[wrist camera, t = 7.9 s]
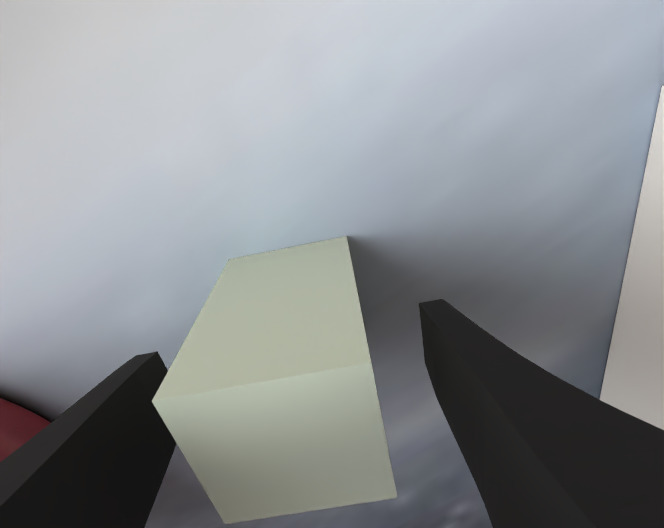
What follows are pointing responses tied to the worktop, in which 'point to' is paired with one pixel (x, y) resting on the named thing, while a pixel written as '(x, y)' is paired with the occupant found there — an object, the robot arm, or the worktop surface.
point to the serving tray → (642, 302)
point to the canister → (17, 427)
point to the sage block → (280, 388)
